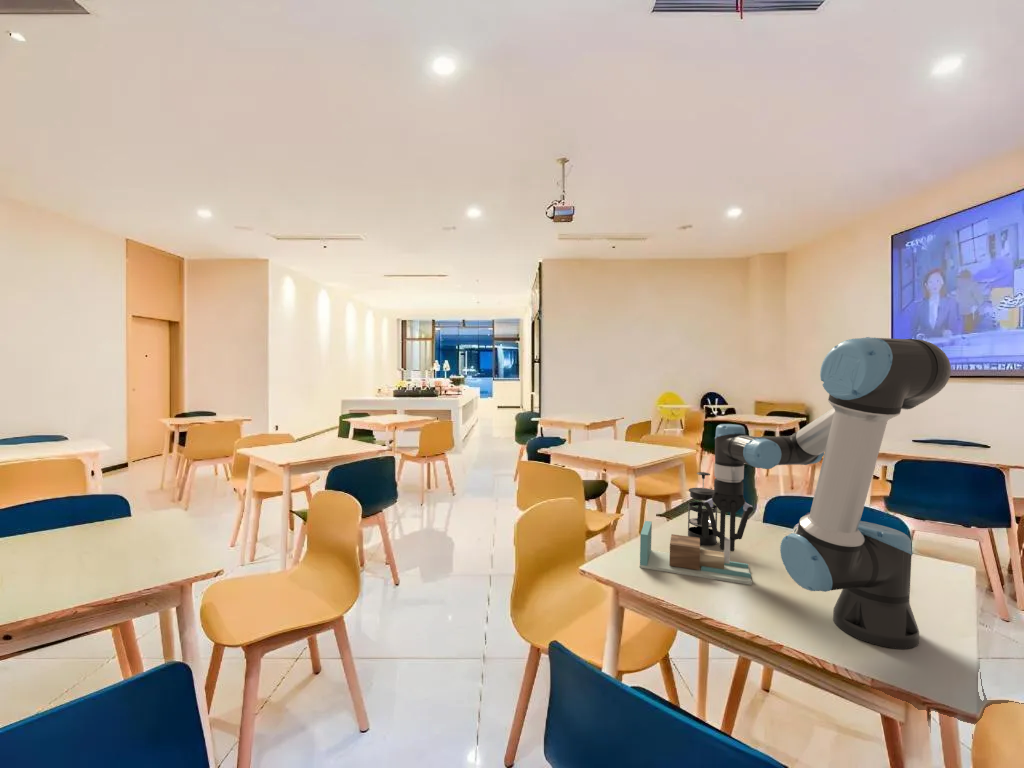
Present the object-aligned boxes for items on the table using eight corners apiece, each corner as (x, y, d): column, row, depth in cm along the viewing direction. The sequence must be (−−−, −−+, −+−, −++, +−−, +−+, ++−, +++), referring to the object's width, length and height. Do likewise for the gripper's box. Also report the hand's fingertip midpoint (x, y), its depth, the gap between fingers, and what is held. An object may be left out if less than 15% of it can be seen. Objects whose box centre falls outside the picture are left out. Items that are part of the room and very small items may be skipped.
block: (699, 570, 133) (699, 548, 133) (669, 565, 136) (669, 544, 136) (699, 558, 142) (699, 537, 142) (671, 554, 145) (671, 534, 144)
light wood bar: (724, 571, 133) (724, 557, 133) (678, 564, 138) (679, 550, 138) (723, 566, 137) (723, 552, 137) (679, 559, 142) (679, 546, 141)
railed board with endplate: (751, 585, 127) (752, 548, 127) (639, 567, 137) (640, 534, 137) (747, 566, 139) (747, 533, 139) (644, 551, 149) (645, 520, 149)
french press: (685, 534, 166) (686, 468, 165) (713, 536, 164) (715, 470, 163) (689, 546, 154) (691, 476, 154) (720, 549, 152) (722, 477, 152)
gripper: (753, 478, 135) (750, 560, 136) (703, 474, 140) (701, 553, 141) (755, 484, 128) (753, 570, 129) (703, 479, 133) (701, 562, 134)
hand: (726, 561), depth 135 cm, fingers closed
